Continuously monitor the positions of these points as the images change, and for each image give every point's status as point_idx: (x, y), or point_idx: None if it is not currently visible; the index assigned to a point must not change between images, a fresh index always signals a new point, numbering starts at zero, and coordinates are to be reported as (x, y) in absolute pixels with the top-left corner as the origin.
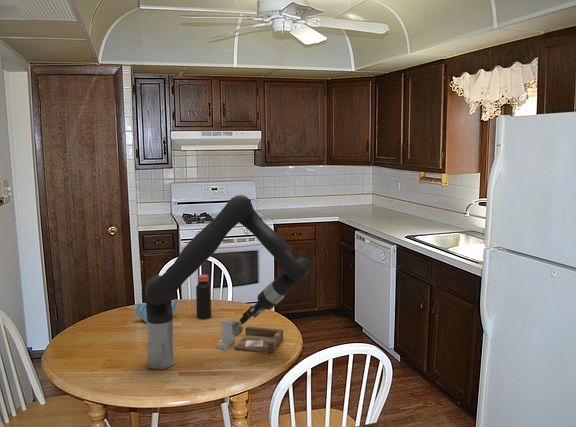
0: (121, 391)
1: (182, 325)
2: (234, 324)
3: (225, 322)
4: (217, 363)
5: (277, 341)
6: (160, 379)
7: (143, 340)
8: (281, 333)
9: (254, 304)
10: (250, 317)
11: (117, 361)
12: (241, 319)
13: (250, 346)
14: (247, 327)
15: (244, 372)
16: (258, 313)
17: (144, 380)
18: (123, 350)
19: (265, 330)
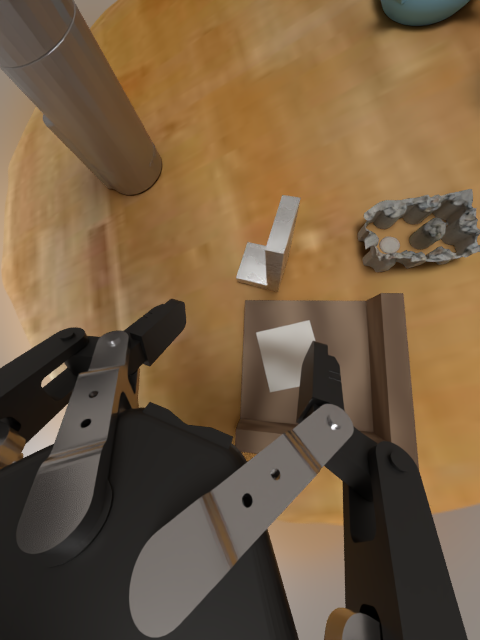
0: (27, 169)
1: (398, 81)
2: (437, 231)
3: (276, 215)
4: (154, 288)
5: None
6: (70, 206)
7: (257, 62)
8: None
9: (44, 471)
10: (131, 382)
11: (139, 88)
12: (148, 315)
13: (260, 349)
14: (390, 299)
15: None
16: (299, 405)
17: (65, 181)
18: (192, 63)
19: (385, 384)
